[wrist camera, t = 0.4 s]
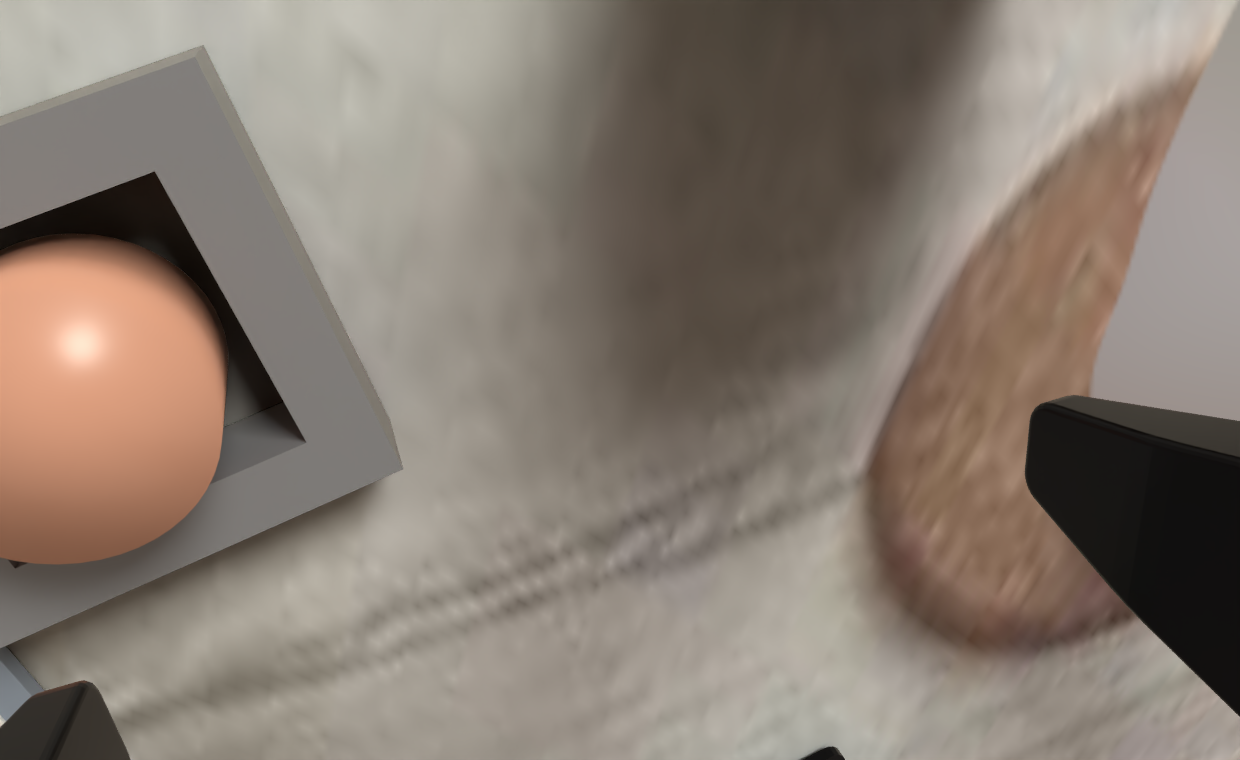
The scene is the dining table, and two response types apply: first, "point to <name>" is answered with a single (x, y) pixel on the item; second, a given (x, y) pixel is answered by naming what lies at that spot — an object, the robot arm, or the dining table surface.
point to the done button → (103, 397)
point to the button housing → (256, 291)
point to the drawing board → (14, 685)
